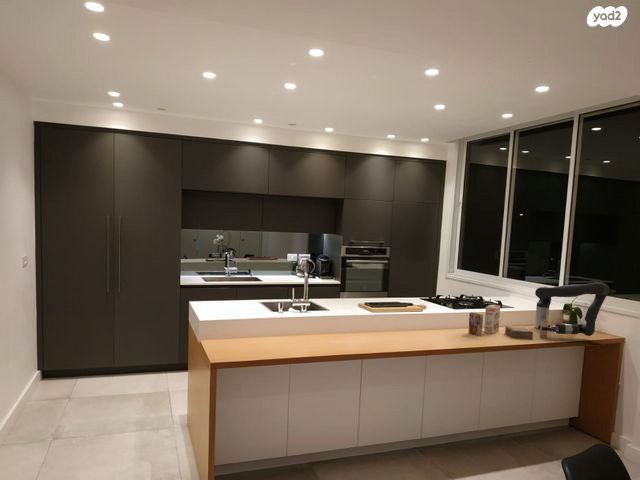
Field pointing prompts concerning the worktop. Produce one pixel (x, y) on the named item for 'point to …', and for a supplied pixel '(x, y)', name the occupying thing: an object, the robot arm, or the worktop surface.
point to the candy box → (475, 323)
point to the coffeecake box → (492, 319)
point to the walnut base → (519, 332)
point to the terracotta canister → (543, 332)
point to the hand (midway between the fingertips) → (540, 327)
